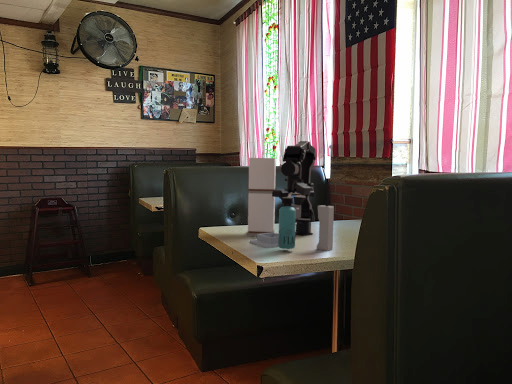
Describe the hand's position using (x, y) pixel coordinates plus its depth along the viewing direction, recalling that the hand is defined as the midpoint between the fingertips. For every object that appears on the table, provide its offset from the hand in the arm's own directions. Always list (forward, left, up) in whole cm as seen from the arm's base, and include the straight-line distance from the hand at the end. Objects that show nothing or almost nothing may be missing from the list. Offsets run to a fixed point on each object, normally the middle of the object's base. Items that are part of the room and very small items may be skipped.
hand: (293, 214), depth 162 cm
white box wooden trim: (-1, -23, -12) cm, 26 cm away
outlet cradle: (+8, -3, -12) cm, 15 cm away
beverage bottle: (+12, +11, -12) cm, 21 cm away
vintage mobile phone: (-2, +16, -12) cm, 21 cm away
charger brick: (0, 0, -1) cm, 1 cm away
